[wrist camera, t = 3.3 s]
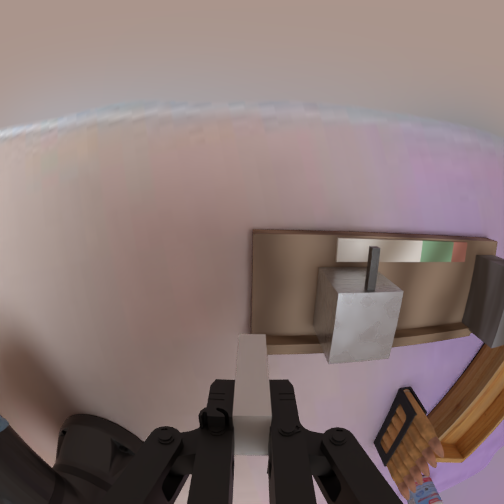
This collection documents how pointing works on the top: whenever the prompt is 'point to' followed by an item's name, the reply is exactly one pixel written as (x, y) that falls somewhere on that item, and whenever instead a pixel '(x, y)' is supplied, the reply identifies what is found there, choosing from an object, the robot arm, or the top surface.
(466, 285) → the brown tray with block
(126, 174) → the top surface
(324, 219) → the top surface
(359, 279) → the cube with dark rod
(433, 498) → the pill bottle
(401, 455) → the ammunition clip
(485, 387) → the tray
